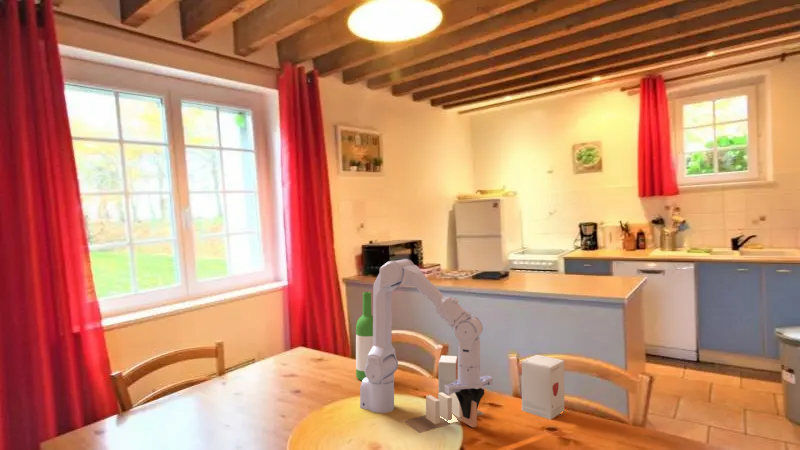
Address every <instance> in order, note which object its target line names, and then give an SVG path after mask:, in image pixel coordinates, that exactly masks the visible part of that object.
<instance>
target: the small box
mask: <svg viewBox="0 0 800 450" xmlns="http://www.w3.org/2000/svg"><path fill="white" fill-rule="evenodd" d="M456 380H458V355H457V356H456V355H440V357H439V360H438V393H441V392H443V393H444V394H446V393H445V385H447V384H450V383H452V382H454V381H456ZM446 395H447V394H446Z"/></svg>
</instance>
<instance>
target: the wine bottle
mask: <svg viewBox="0 0 800 450" xmlns="http://www.w3.org/2000/svg"><path fill="white" fill-rule="evenodd" d="M372 347H373V314H372V292H371V291H364V292H362V315H361V316H360V317H358V319H357V322H356V325H355V376H356V379H358V380H359V381H361V382H362V381H363V379H364V378H365V377H366V375H365V365H366V363H367V359H368V354H369V352H370V350H371V349H372Z"/></svg>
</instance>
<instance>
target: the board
mask: <svg viewBox="0 0 800 450" xmlns="http://www.w3.org/2000/svg"><path fill="white" fill-rule="evenodd" d="M453 415H454V414H453ZM484 415H486V413H485V412H482V411H481V410H479V409H477V417H480V416H484ZM454 416H455V417H456V418H457V420H458V421H459V422H463V421H462V417H460V418H459V417H457V416H456V415H454ZM402 422H404V423H405V424H406V425H408V426H409V427H410V428H411V429H413V430H414V431H416V432H418V433H419V434H421V433H424V432H428V431H430V430H434V429H437V428H442V427H445V426H450V425H451V424H450V423H448V422H447V421H445V420H444V419H442V418H440V423H438V424H434V423H433V422H431V421H430V420H428V419H427V418H426V414H424V415H420V416H416V417H413V418H412V417H411V418H409V419H405V420H403V421H402Z"/></svg>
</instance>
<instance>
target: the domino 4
mask: <svg viewBox="0 0 800 450" xmlns="http://www.w3.org/2000/svg"><path fill="white" fill-rule="evenodd" d="M477 410H478V408H477V403H476V402H474V401H472V402H471V413H470V418H469V419H467V418H465V417H463V413H462V421H461V422H463V423H465V424H466V425H467V426H470V427H472V428H475V427H478V418H477V417H478V416H477Z"/></svg>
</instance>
